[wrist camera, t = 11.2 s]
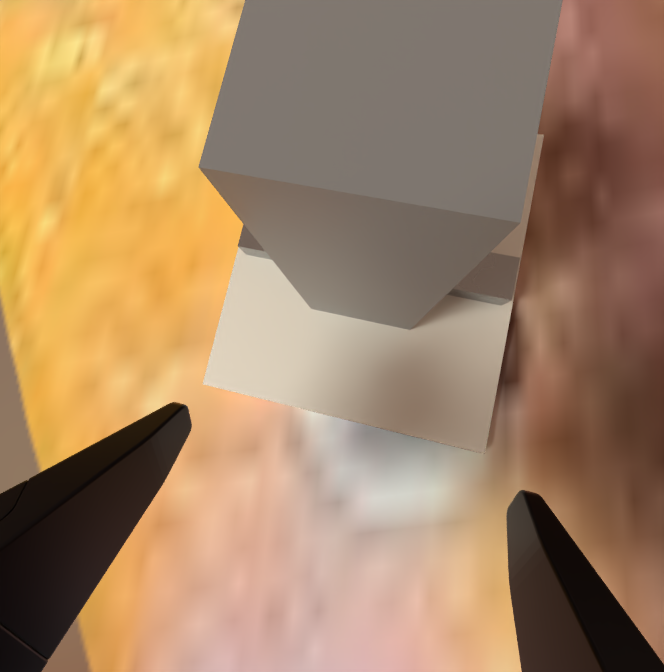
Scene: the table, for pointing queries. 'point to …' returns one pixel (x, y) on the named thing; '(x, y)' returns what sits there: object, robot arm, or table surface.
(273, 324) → the board
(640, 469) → the table surface
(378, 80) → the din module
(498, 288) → the din rail
